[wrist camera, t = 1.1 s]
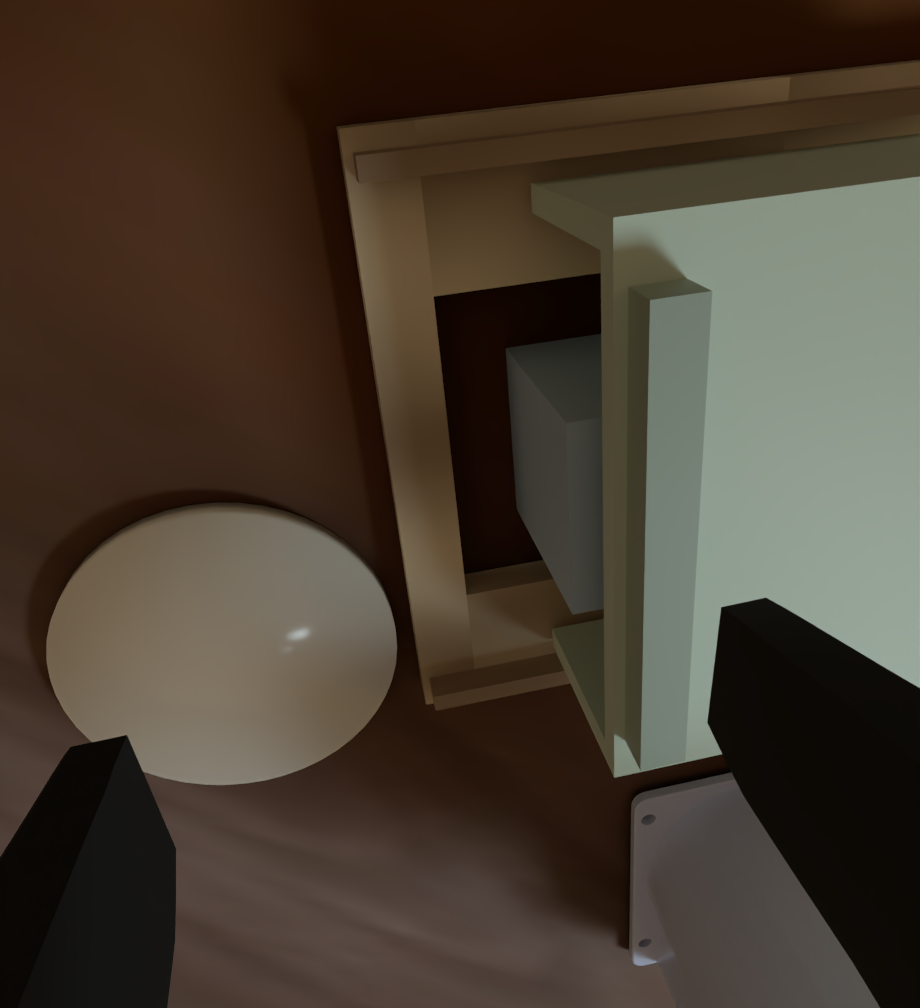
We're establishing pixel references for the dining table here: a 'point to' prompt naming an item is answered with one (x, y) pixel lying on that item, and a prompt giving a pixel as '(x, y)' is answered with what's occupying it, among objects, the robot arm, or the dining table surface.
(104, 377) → the dining table surface
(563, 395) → the slate-blue block
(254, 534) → the cream saucer
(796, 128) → the beige open frame
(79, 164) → the dining table surface
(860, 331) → the sliding cover
